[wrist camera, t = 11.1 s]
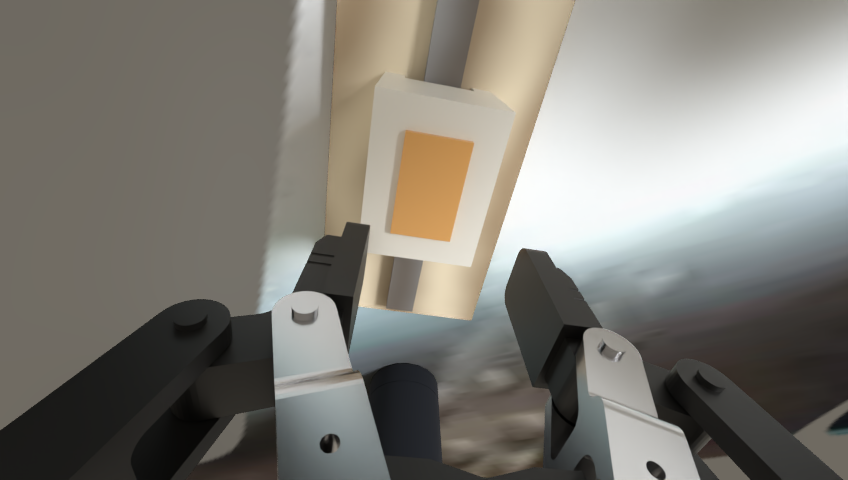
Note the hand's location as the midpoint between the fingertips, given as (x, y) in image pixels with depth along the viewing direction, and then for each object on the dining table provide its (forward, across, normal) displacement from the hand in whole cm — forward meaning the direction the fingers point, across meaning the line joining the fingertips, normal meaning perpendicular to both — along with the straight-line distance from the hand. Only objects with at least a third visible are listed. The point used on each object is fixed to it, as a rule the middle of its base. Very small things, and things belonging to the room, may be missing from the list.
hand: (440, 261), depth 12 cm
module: (+12, 0, 0) cm, 12 cm away
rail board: (+13, 0, 0) cm, 13 cm away
